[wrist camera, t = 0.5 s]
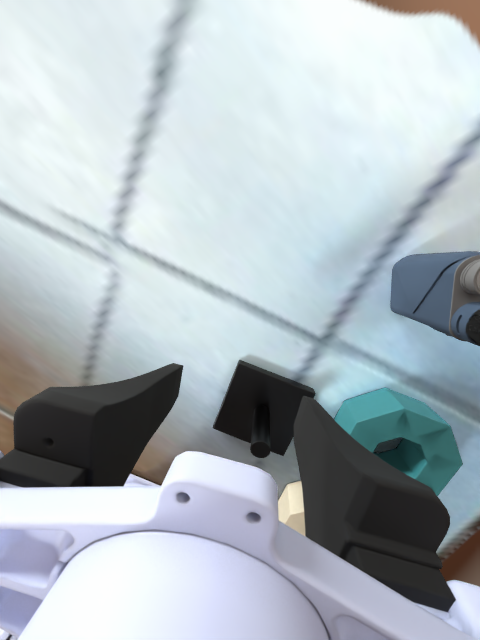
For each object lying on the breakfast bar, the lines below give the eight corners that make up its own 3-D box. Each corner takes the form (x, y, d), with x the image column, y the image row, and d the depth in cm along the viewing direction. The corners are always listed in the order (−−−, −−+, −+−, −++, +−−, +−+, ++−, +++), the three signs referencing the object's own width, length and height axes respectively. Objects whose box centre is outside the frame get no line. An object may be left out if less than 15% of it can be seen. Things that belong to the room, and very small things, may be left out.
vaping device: (387, 316, 21) (532, 381, 10) (391, 256, 20) (560, 247, 8) (419, 315, 21) (609, 379, 9) (424, 253, 20) (648, 239, 8)
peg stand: (282, 449, 26) (287, 503, 20) (214, 422, 26) (199, 468, 20) (314, 388, 24) (329, 429, 18) (239, 359, 24) (230, 390, 18)
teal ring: (400, 485, 25) (420, 519, 22) (315, 452, 25) (322, 480, 22) (452, 413, 23) (483, 438, 19) (357, 376, 23) (372, 395, 20)
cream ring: (340, 555, 28) (349, 593, 25) (264, 524, 28) (264, 558, 25) (380, 498, 26) (396, 532, 22) (297, 465, 26) (301, 494, 23)
